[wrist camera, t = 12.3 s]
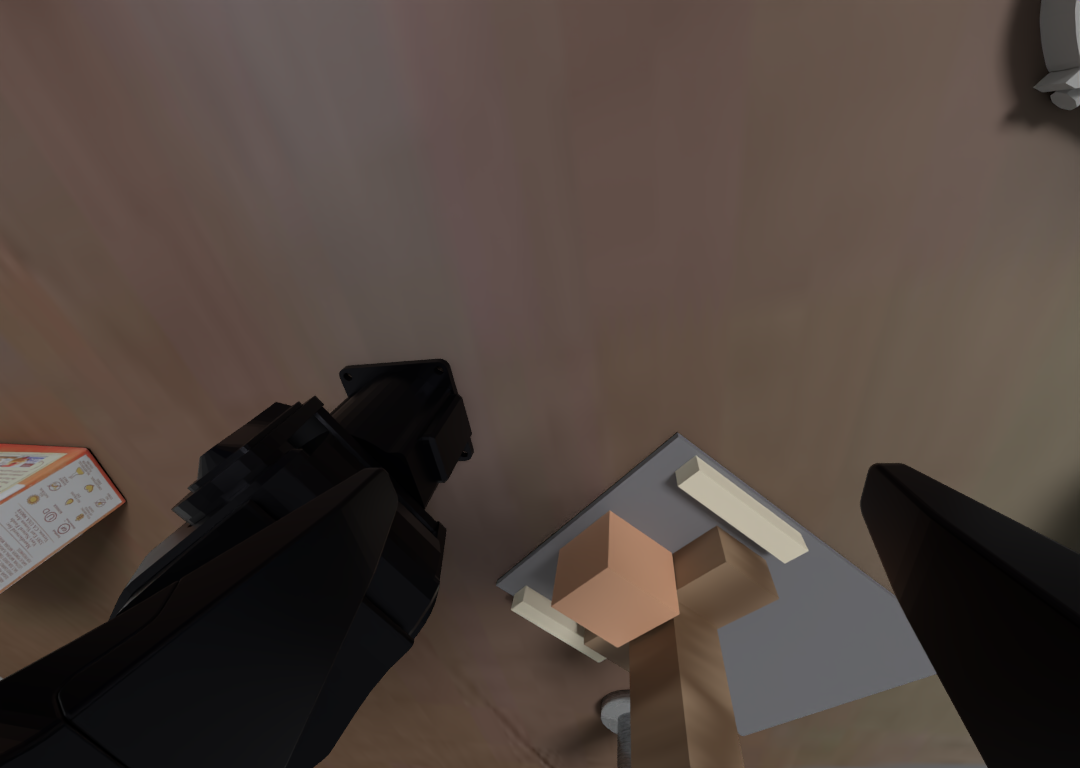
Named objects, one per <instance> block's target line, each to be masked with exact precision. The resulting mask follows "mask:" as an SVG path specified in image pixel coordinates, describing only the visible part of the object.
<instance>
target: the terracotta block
mask: <svg viewBox="0 0 1080 768" xmlns="http://www.w3.org/2000/svg"><path fill="white" fill-rule="evenodd" d="M551 607H552V608H554V609H555V610H557V611H559V612H560V613H562V614H564V615H565V616H567V617H568V618H570V619H572V620H573V621H575V622H577V623H578V624H580V625H581V626H583V627H585V628H586V629H588V630H590V631H591V632H593V633H594V634H596V635H598V636H599V637H601V638H603V639H604V640H606V641H607V642H609V643H611V644H612V645H614V646H616V647H617V648H618V647H620V646H622V645H624V644H626V643H627V642H629V641H631V640H633V639H635V638H637V637H639V636H640V635H642V634H644V633H646V632H648V631H650V630H652V629H653V628H655V627H657V626H659V625H661V624H663V623H664V622H666V621H668V620H670V619H672V618H674V617H676V616H677V615H679V614H680V613H679V605H678V597H677V589H676V581H675V573H674V565H673V557H672V553H671V552H670V551H668V550H667V549H666V548H664V547H663V546H661V545H660V544H658V543H657V542H655V541H654V540H652V539H651V538H649V537H648V536H647V535H645V534H644V533H642V532H641V531H639V530H638V529H636V528H635V527H633V526H632V525H630V524H629V523H628V522H626V521H625V520H623V519H622V518H620V517H619V516H617V515H616V514H614V513H613V512H611V511H610V510H609V511H608V512H607V513H606V514H604V515H603V516H602V517H601V518H599V519H598V520H597V521H595V522H594V523H593V524H592V525H590V526H589V527H588V528H587V529H585V530H584V531H583V532H581V533H580V534H579V535H578V536H576V537H575V538H574V539H573V540H571V541H570V542H569V543H567V544H566V545H565V546H564V547H562V548H561V549H560V550H559V557H558V563H557V570H556V576H555V583H554V589H553V596H552V602H551Z"/></svg>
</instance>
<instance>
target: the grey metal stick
mask: <svg viewBox="0 0 1080 768" xmlns="http://www.w3.org/2000/svg"><path fill="white" fill-rule="evenodd" d="M601 720H602V722H603V724H604V725H605V726H606V727H607V728H608V729H609V730H611V731H612V732H614V733H616V734H618V737H617V768H631V724H630V690H620V691H615V692H612V693H609V694H608V695H606V696H605V697H604V698H603V700H602V703H601Z"/></svg>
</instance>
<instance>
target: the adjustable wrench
mask: <svg viewBox="0 0 1080 768" xmlns="http://www.w3.org/2000/svg"><path fill="white" fill-rule="evenodd" d="M1040 32H1041V43H1042V49H1043V55H1044V59H1045V64H1046V67H1047V69H1048V71H1049V72H1050V73H1049V74H1047V75H1046V76H1045V77H1044V78H1043V79H1042V80H1041V81H1039V82H1038V83H1037V84H1036V85H1035V86H1034V87H1033V88H1035V89H1037V90H1039V91H1040V92H1050V91H1055V92H1054V93H1053V94H1052V95H1051V96H1050V97H1051V100H1052V103H1054V104H1055V105H1056V106H1058V107H1059V108H1061V109H1066V110H1072V109H1074V108H1076V107H1078V106H1079V105H1080V0H1041V10H1040Z"/></svg>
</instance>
